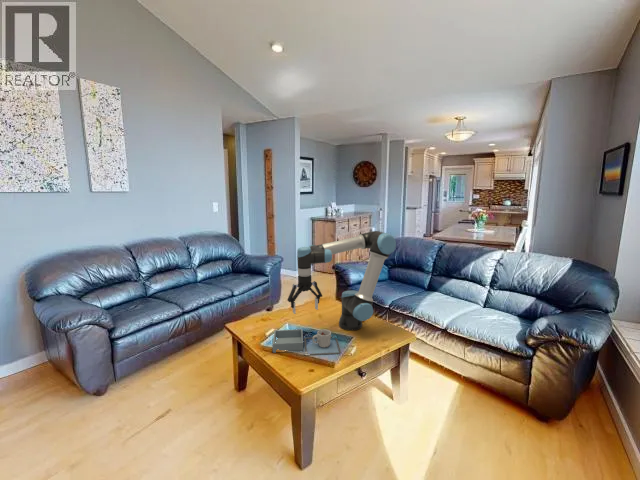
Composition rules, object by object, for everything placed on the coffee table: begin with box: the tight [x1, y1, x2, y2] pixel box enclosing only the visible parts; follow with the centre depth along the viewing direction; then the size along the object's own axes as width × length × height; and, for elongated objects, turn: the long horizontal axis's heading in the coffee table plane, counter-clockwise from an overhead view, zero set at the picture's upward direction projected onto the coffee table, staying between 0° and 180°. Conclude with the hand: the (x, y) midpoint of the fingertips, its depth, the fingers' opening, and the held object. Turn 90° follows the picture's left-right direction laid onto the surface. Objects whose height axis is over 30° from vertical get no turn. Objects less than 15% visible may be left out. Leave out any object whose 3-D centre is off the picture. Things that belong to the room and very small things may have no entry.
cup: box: [311, 328, 332, 348], centre depth 175 cm, size 11×8×8 cm
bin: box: [272, 328, 304, 354], centre depth 177 cm, size 17×17×5 cm
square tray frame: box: [303, 336, 342, 356], centre depth 176 cm, size 21×21×2 cm
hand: (305, 311), depth 176 cm, fingers open, 13 cm apart
